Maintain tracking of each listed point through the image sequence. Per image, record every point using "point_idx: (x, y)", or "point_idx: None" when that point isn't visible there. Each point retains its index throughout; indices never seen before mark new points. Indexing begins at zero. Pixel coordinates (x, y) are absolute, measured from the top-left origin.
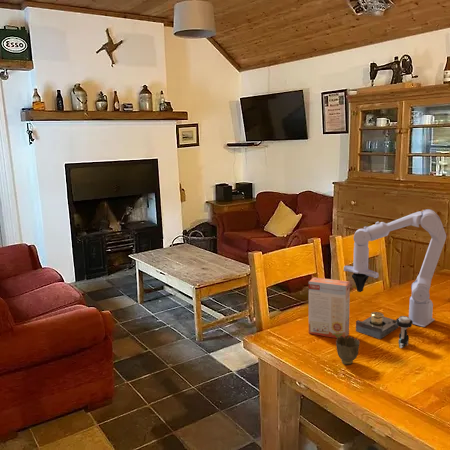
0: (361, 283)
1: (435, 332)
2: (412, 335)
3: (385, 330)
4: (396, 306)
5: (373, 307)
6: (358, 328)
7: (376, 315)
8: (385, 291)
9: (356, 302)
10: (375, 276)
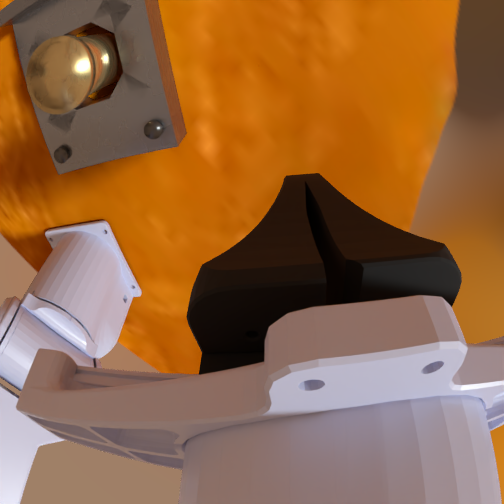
0: (255, 229)
1: (14, 226)
2: (10, 148)
3: (20, 51)
4: None
5: None
6: None
7: (45, 58)
8: None
9: None
10: (32, 371)
